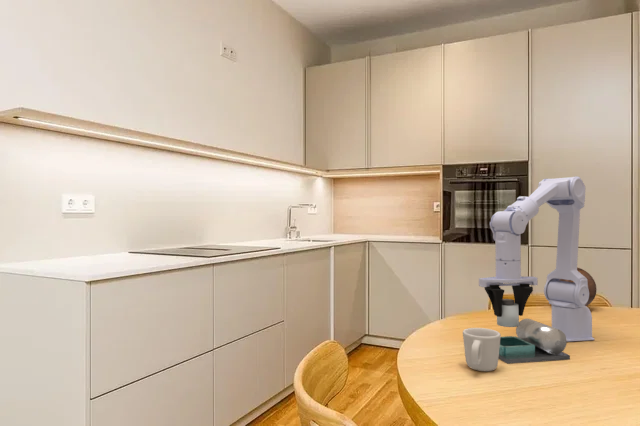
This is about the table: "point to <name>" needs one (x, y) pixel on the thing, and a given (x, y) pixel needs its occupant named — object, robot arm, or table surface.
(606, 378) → the table surface
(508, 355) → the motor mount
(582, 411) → the table surface
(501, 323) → the grey capped cylinder
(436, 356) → the table surface
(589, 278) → the wooden sphere
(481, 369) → the cup
